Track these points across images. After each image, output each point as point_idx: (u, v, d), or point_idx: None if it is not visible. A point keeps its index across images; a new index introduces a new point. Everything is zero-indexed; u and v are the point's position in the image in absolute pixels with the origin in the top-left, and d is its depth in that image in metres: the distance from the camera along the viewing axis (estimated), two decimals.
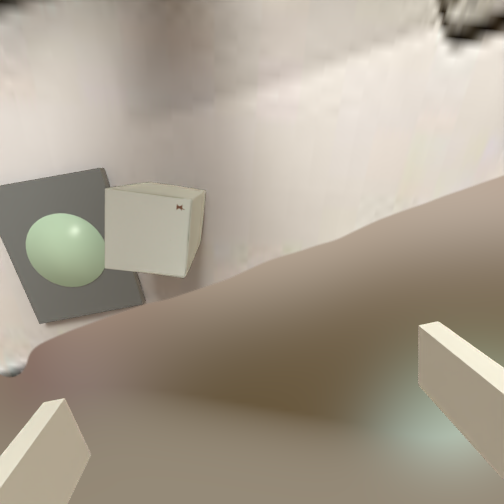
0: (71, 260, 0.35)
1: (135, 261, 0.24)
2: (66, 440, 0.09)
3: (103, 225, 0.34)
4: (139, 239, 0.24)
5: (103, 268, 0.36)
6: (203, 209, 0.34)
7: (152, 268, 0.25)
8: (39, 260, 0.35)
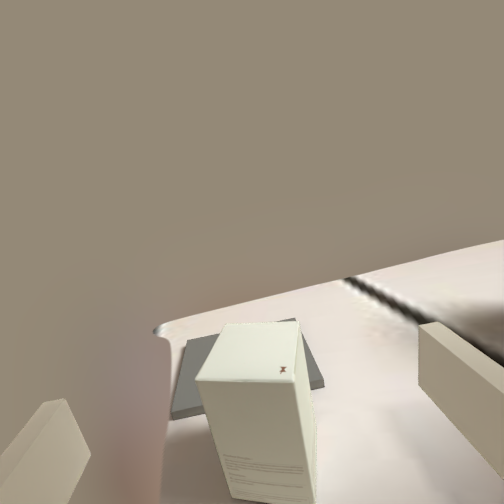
0: None
1: (226, 339, 0.23)
2: (66, 440, 0.09)
3: None
4: (249, 340, 0.23)
5: None
6: (283, 491, 0.21)
7: (215, 351, 0.22)
8: None
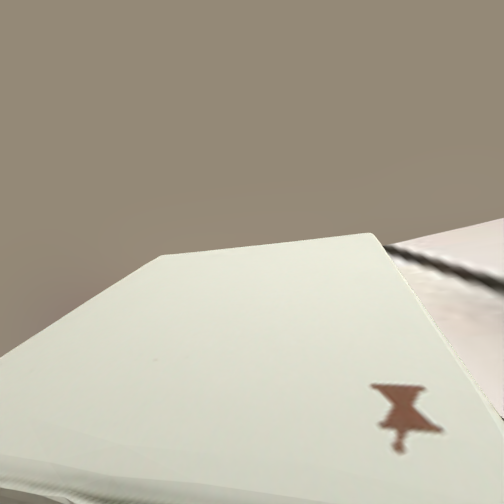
0: None
1: (138, 282, 0.07)
2: None
3: None
4: (208, 279, 0.06)
5: None
6: None
7: (77, 315, 0.06)
8: None
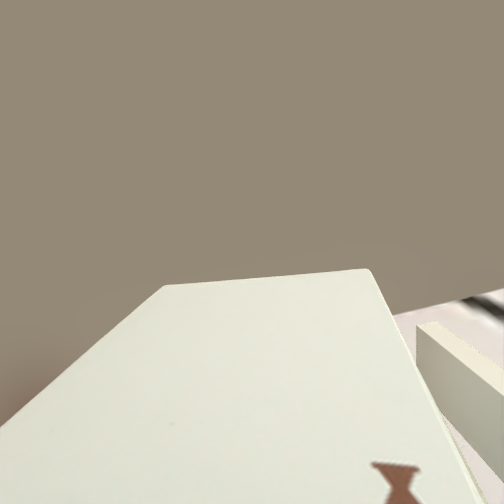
0: None
1: (145, 322, 0.07)
2: None
3: None
4: (214, 322, 0.07)
5: None
6: None
7: (89, 361, 0.06)
8: None
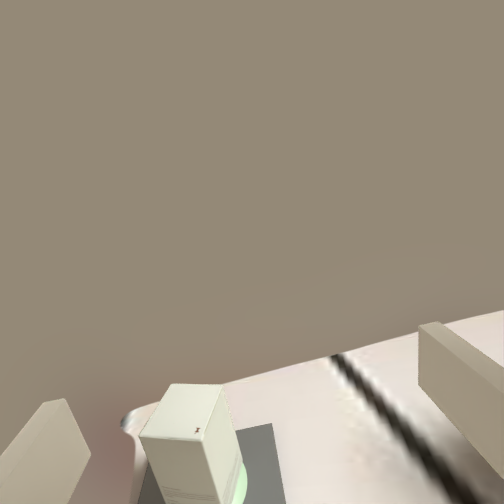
0: None
1: (167, 400, 0.32)
2: (66, 440, 0.09)
3: None
4: (182, 402, 0.31)
5: None
6: None
7: (157, 411, 0.31)
8: None
